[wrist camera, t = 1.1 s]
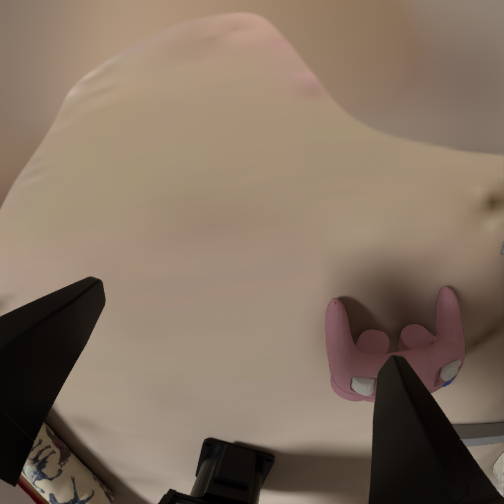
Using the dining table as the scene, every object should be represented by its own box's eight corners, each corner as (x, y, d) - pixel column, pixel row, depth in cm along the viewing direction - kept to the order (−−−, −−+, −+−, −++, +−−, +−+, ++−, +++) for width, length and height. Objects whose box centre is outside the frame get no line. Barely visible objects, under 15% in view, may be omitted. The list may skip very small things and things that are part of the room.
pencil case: (130, 495, 26) (101, 543, 17) (99, 496, 28) (71, 536, 18) (18, 366, 26) (-35, 399, 16) (2, 384, 27) (-42, 412, 18)
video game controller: (321, 336, 22) (328, 419, 16) (322, 291, 19) (334, 385, 13) (437, 322, 20) (465, 394, 15) (453, 279, 18) (493, 355, 12)
